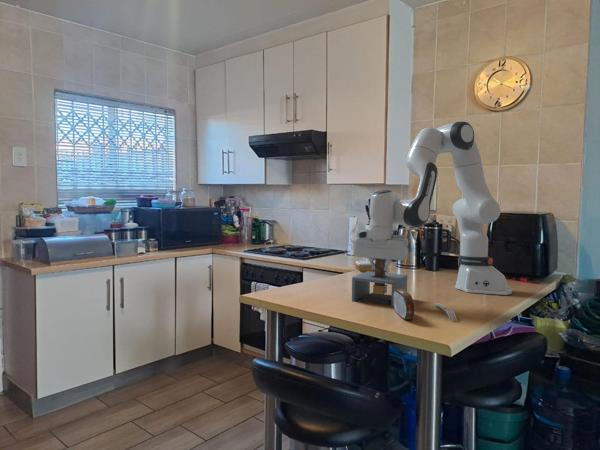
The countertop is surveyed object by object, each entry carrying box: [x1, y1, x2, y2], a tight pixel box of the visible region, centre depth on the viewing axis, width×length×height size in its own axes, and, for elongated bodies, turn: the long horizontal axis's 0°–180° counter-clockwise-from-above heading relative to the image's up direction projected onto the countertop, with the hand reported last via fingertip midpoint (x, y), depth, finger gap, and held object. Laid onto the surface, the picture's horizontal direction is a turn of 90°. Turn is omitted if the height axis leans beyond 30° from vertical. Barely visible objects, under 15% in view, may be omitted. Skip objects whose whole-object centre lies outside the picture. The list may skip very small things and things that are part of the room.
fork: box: [433, 302, 458, 322], centre depth 151 cm, size 3×21×3 cm, turn 178°
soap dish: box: [354, 260, 375, 273], centre depth 234 cm, size 12×10×5 cm
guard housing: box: [351, 271, 408, 308], centre depth 168 cm, size 16×16×9 cm
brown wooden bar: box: [373, 248, 386, 286], centre depth 168 cm, size 3×3×14 cm
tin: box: [393, 289, 415, 321], centre depth 146 cm, size 15×3×8 cm, turn 4°
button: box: [372, 284, 388, 295], centre depth 168 cm, size 4×4×3 cm
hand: (380, 270), depth 168 cm, fingers closed on brown wooden bar, 3 cm apart
